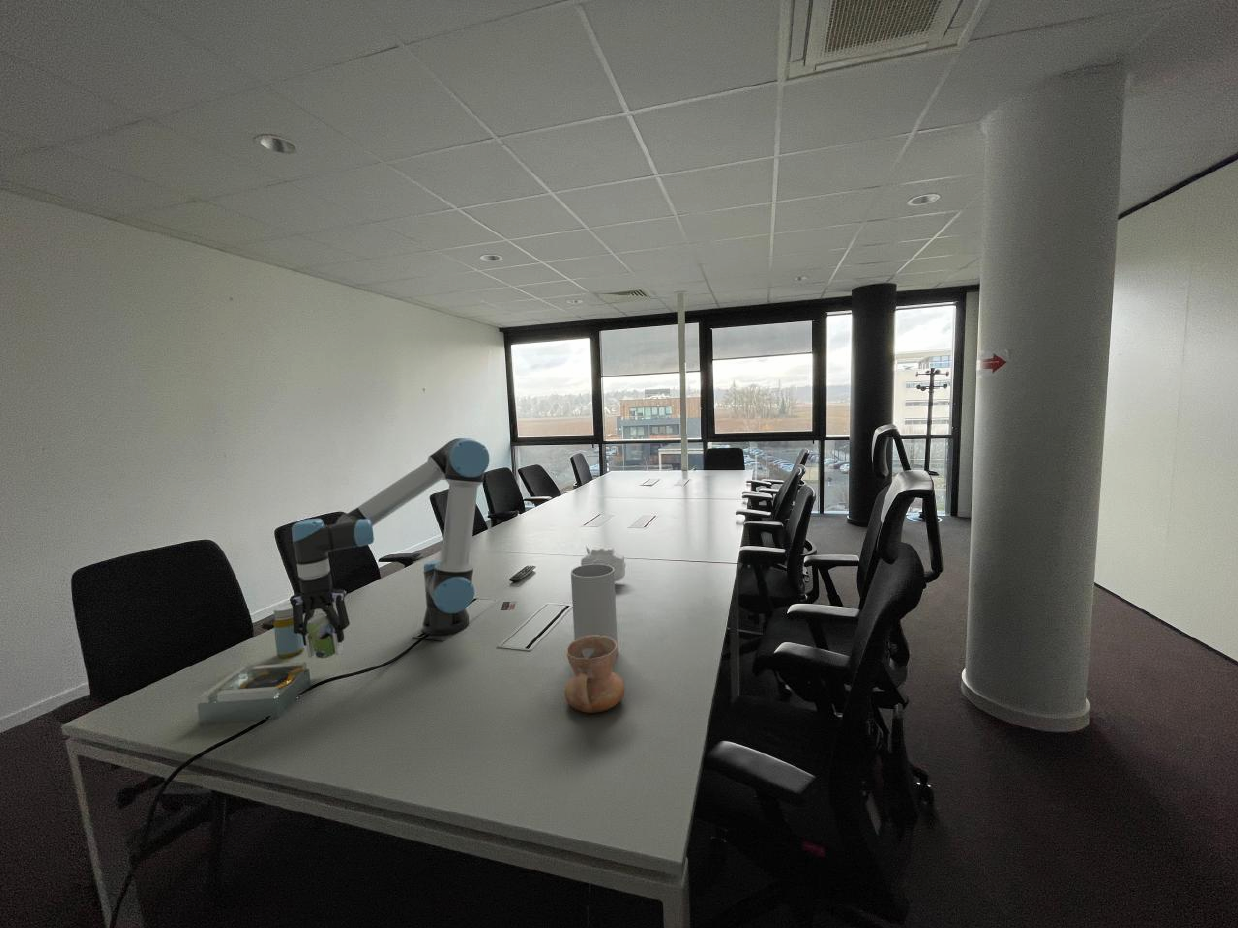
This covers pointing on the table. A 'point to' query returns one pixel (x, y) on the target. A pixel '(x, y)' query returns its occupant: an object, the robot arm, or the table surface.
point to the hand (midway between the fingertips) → (325, 654)
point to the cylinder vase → (594, 602)
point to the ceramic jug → (593, 675)
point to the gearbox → (254, 693)
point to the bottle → (286, 632)
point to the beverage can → (321, 635)
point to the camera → (606, 560)
